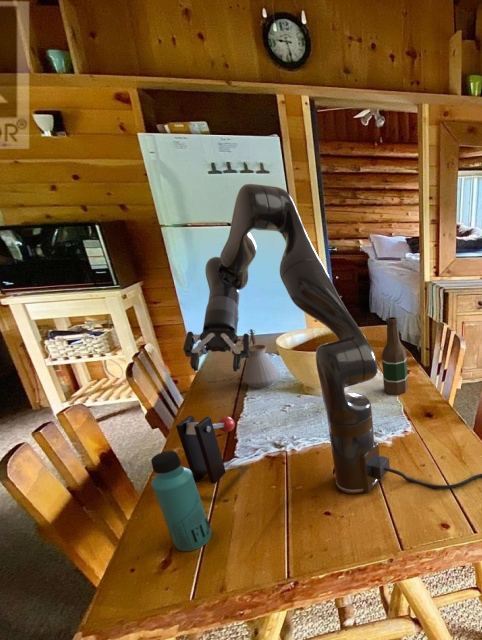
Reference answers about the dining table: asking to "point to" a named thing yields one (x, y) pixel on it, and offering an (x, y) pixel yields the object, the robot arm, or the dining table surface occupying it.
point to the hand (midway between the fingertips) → (215, 369)
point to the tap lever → (223, 424)
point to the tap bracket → (202, 449)
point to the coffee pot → (259, 367)
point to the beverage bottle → (180, 502)
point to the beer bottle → (394, 361)
